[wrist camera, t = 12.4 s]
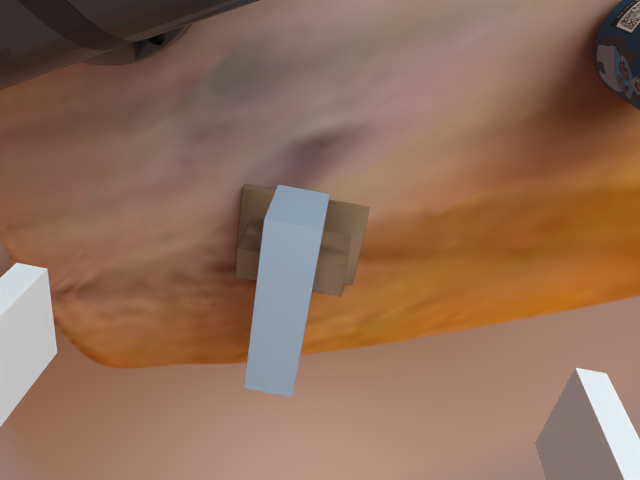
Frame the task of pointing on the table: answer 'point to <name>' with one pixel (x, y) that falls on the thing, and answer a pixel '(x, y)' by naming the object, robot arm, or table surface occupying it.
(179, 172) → the table surface
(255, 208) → the ridge stand
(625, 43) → the soda can
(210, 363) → the table surface
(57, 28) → the robot arm
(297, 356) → the bar
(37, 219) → the table surface
